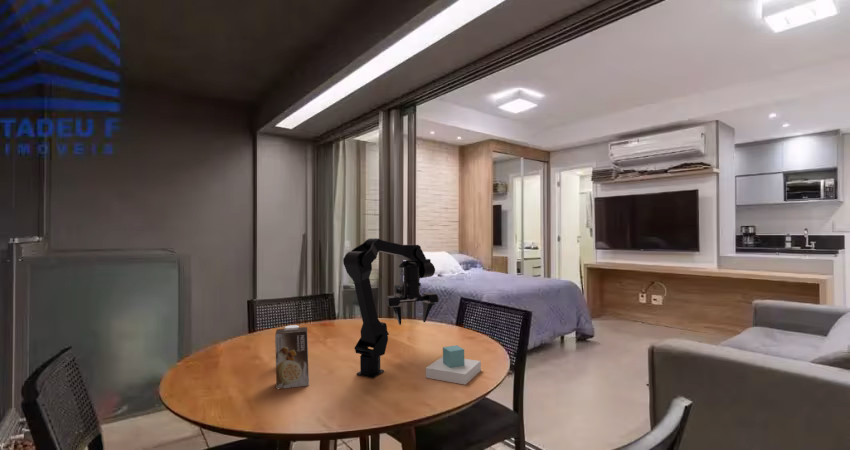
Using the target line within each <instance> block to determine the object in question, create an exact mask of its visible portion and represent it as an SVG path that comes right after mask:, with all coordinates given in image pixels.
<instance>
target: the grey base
mask: <svg viewBox="0 0 850 450" xmlns="http://www.w3.org/2000/svg"><path fill="white" fill-rule="evenodd" d="M464 365H465V366H459V367H453V368H449V367H448V366H446V365H445V364H444V363H443V356H441V357H439V358H438V359H437V360H435V361H434V362H432V363H431V364H429V365H427V367H425V378H426V379H433V380H437V381H443V382H448V383H454V384H460V385H467V384H468V383H469V382H470V381H471V380H472V379H474V378H475V377H476V376H477V375H478V374H479V373H480V372H481V371H482V368H481V367H482V361H481V360H477V359H476V360H475V359H469V358H464Z"/></svg>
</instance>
